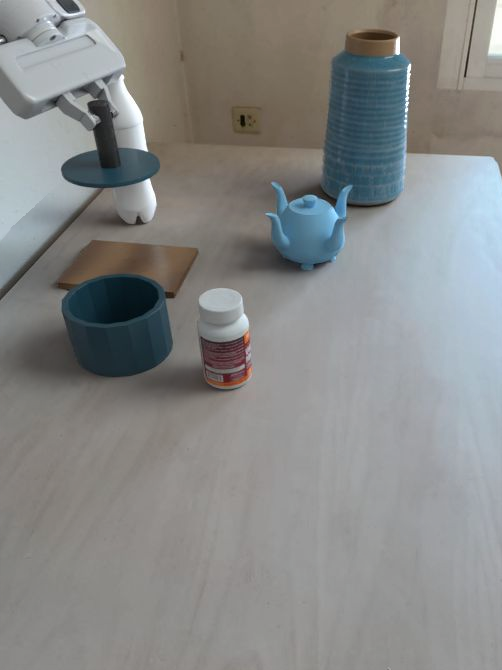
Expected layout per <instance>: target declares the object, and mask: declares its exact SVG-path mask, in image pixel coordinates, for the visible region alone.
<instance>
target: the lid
mask: <svg viewBox="0 0 502 670" xmlns="http://www.w3.org/2000/svg"><path fill="white" fill-rule="evenodd" d="M86 106H87V111H89V110H93V111H94V112H95V114H96V116H98V117H99V118H100V120H101V123H100V124H99V125H98V127H97V128H96V129H94V130H92V133H93V137H94V142H95V146H96V147H95V148H96V149H94V150H93V149H92V150H89V151H84V152H81V153H79V154H76V155H74V156H72V157H70V158H68V159H66V161H64V163H62V165H61V168H60V172H61V176H62V178H63V179H64V180H65V181H66V182H68V183H69V184H72V185H74V186H78V187H82V188H90V189H113V188H115V187H123V186H128V185H133V184H136V183H139V182H142V181H145V180H147V179H149V178H150V179H151V178H152V177H154V176H156V174H157V173H159V171H160V169H161V161H160V159H159V157H158V156H157V155H155V154H154V153H152V152H150V151H148V152H147V151H144V150H140V149H133V148H118V145H117V140H116V135H115V130H114V125H113V120H112V115H111V110H110V105H109V102H108V101H106V100H98V99H93V100H89V101H88V102H87V103H86Z"/></svg>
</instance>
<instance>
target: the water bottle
mask: <svg viewBox="0 0 502 670" xmlns="http://www.w3.org/2000/svg"><path fill="white" fill-rule="evenodd" d="M124 80H125V76H124V74H122V75H121V76H120V78H119V79H118V81H117V82H115V83H112V84H110V85H108V86H107V87H108V90H109V93H110V96H111V99H112V102H113V103H114V104H115V105H116V107H117V108H118V109H119V111H120V114H119V115H118V117H117V118H116V119H115V120H113V125H114V130H115V135H116V140H117V145H118V148H133V149H140V150H144V151H147V152H149V149H148V146H147V140H146V135H145V128H144V123H143V122H144V118H143V114H142V111H141V110H140V108H139V106H138V105H137V103H136V101H135V99H134V98H133V97H132V96H131V94H130V92H129V91H128V89H127V86H126V84H125V82H124ZM112 200H113V204H114V208H115V211H116V213H117V214H118V216H119V218H121V219H122V220H123V221H124V222H125V223H126V224H128V225H135V224H136V223H137V217H139V218H140V220H141V221H142V223H145V224H146V223H149V222H151V221H152V219H153V217H154V215H155V213H156V210H157V199H156V193H155V191H154V189H153V185H152V183H151V178H149V179H147V180H145V181H142V182H139V183H136V184H133V185H128V186H123V187H115V188H112Z"/></svg>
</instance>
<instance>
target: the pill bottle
mask: <svg viewBox="0 0 502 670" xmlns="http://www.w3.org/2000/svg"><path fill="white" fill-rule="evenodd" d="M197 306H198V314H199V318H198V319H197V322H196V330H197V338H198V345H199V352H200V357H201V366H202V373H203V377H204V380H205V382H206V383H207V385H209V386H211V387H213V388H215V389H219V390H233V389H237V388H241V387H243V386H244V385H246V384H247V383H248V382H249V381H250V380H251V378H252V375H253V366H252V365H253V364H252V350H251V335H250V324H249V323H250V322H249V319H248V316H247V315H246V314H245V313H244V301H243V296H242V295H241V294H240V293H239V291H237V290H234V289H231V288H227V287H226V288H225V287H218V288H211V289H208V290H206V291H204V292H203V293H202V294H200V295H199V297H198V299H197Z"/></svg>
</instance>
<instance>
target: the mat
mask: <svg viewBox="0 0 502 670" xmlns="http://www.w3.org/2000/svg"><path fill="white" fill-rule="evenodd" d="M199 254H200V253H199V248H198V247H189V246H177V245H164V244H152V243H139V242H127V241H126V242H125V241H115V240H114V241H113V240H103V239H102V240H100V239H91V241H89V243H88V244H87V245H86V246H85V248H84V249H83V250H82V251H81V253H79V255H78V256H77V257H76V258H75V260H74V261H73V262H72V263H71V264H70V265H69V266H68V268H67V269H66V270H65V272H64V273H63V274H62V275H61V277H60V278H59V279H58V280H57V282H56V285H57V288H58V289H64V290H70V289H72V288H74V287H75V286H77V285H79V284H80V283H82V282H84V281H87V280H90V279H93V278H96V277H99V276H104V275H113V274H135V275H141V276H144V277H147V278H150V279H153V280H155V281H156V282H157V283H158V284H159V285H161V286H162V287H163V288H164V293H165V298H167V299H175V298H176V296H177V294H178V293H179V291H180V288H181V287H182V285H183V283H184V282H185V280H186V278H187V276H188V274H189V272H190V270H191V269H192V268H193V265H194V264H195V261H196V259H197V258H198V256H199Z"/></svg>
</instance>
